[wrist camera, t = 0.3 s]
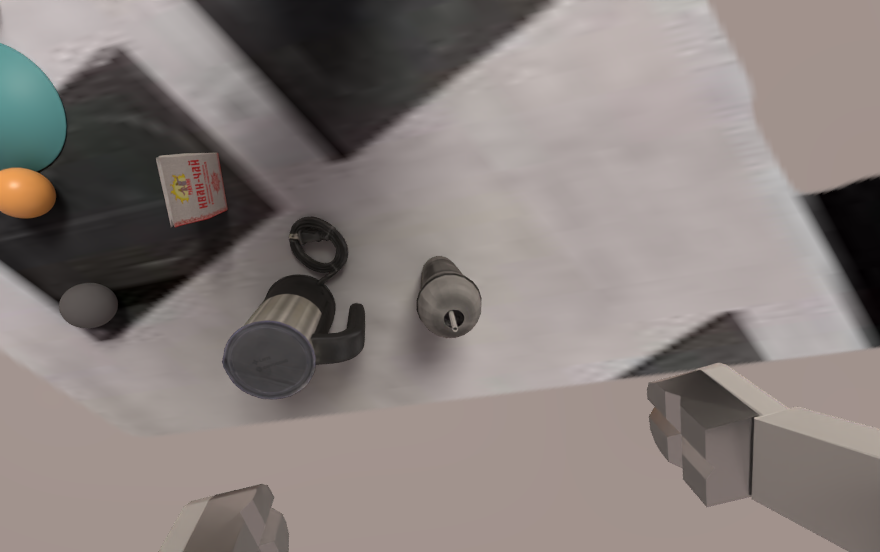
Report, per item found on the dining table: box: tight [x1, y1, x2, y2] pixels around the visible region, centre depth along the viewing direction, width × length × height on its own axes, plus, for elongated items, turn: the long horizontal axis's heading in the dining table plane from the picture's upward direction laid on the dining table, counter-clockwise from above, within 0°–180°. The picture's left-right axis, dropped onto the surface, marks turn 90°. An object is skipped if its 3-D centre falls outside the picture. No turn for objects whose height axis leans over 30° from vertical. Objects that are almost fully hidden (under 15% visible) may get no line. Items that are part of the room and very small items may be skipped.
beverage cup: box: [417, 256, 481, 338], centre depth 48 cm, size 7×7×20 cm
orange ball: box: [0, 168, 56, 218], centre depth 47 cm, size 6×6×6 cm
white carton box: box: [156, 153, 228, 227], centre depth 46 cm, size 4×7×10 cm, turn 1°
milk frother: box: [222, 217, 365, 399], centre depth 49 cm, size 14×16×15 cm
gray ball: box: [59, 283, 118, 328], centre depth 51 cm, size 6×6×6 cm
